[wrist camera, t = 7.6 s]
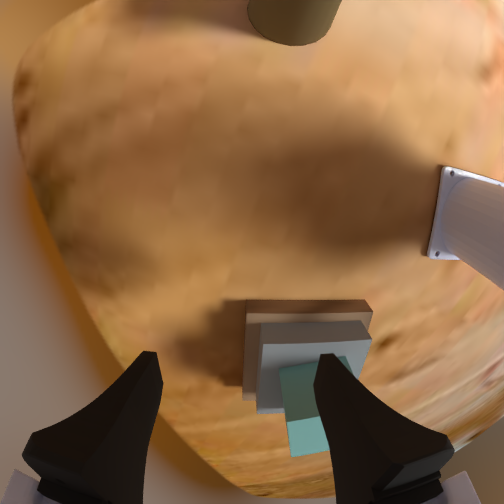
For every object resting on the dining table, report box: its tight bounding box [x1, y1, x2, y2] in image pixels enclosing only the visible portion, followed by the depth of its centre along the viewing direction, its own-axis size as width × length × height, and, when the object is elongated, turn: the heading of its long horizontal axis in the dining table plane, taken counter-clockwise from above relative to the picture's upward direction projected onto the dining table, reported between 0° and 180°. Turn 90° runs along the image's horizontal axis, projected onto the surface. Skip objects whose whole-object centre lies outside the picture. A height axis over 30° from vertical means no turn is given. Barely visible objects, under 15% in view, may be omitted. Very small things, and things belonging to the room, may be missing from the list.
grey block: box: [256, 321, 372, 414], centre depth 22 cm, size 8×8×2 cm
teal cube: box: [279, 356, 354, 457], centre depth 18 cm, size 5×5×5 cm
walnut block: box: [242, 300, 373, 401], centre depth 24 cm, size 10×10×2 cm
